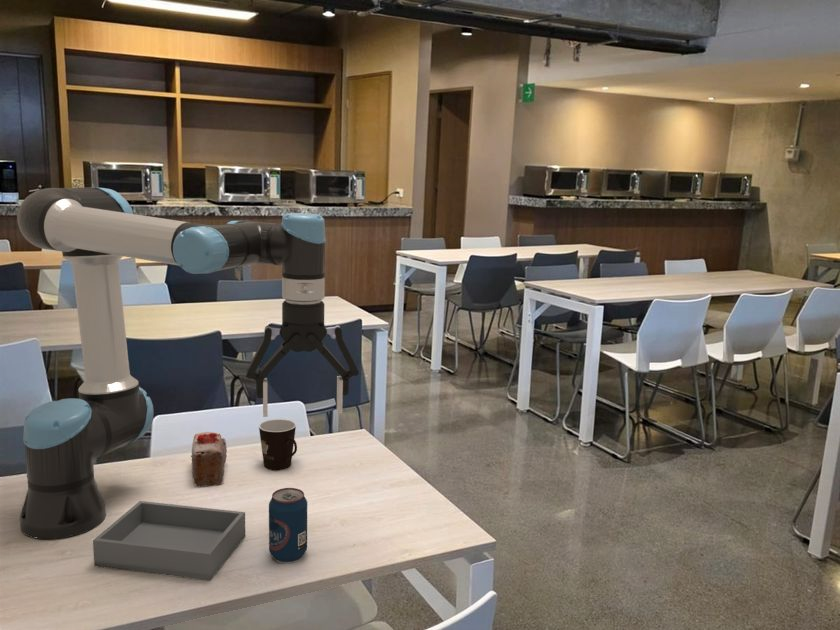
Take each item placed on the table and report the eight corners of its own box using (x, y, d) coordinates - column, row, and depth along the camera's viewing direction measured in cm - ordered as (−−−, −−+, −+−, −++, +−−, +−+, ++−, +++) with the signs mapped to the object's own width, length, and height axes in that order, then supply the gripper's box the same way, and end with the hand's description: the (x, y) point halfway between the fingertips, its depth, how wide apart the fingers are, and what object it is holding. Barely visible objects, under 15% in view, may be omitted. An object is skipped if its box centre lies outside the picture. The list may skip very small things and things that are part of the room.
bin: (94, 566, 127) (92, 540, 126) (140, 524, 142) (139, 500, 141) (210, 580, 124) (209, 553, 123) (245, 536, 139) (245, 512, 138)
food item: (191, 464, 171) (190, 425, 169) (225, 461, 173) (225, 422, 171) (191, 488, 158) (190, 446, 156) (229, 485, 161) (228, 443, 159)
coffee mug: (257, 459, 175) (257, 420, 173) (293, 456, 177) (293, 418, 175) (262, 479, 164) (261, 437, 162) (300, 475, 167) (300, 435, 165)
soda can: (261, 556, 132) (260, 495, 129) (287, 541, 137) (287, 482, 135) (288, 569, 128) (288, 506, 126) (315, 553, 134) (315, 493, 131)
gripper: (231, 304, 123) (232, 422, 127) (375, 304, 128) (372, 417, 133) (232, 296, 130) (233, 408, 134) (368, 296, 136) (366, 404, 140)
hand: (302, 413), depth 133 cm, fingers open, 13 cm apart
